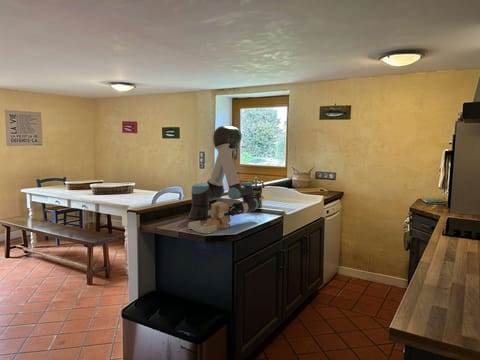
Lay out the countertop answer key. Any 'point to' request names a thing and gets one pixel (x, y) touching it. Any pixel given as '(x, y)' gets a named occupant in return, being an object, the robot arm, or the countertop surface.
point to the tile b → (215, 222)
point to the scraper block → (219, 208)
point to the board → (217, 226)
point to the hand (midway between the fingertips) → (213, 214)
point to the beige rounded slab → (201, 227)
